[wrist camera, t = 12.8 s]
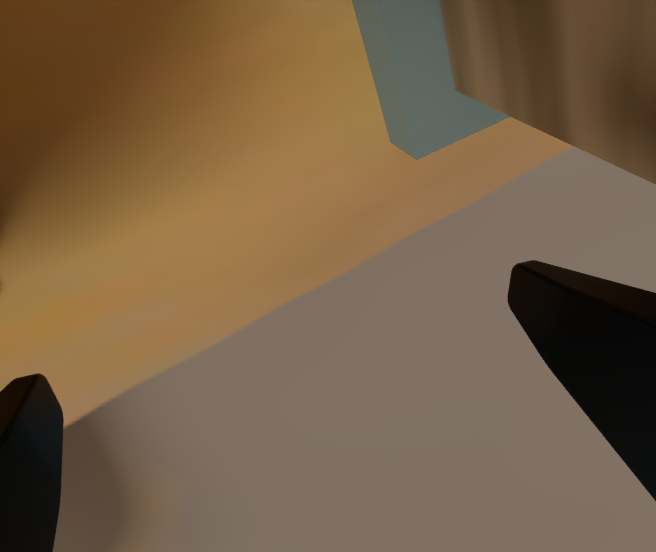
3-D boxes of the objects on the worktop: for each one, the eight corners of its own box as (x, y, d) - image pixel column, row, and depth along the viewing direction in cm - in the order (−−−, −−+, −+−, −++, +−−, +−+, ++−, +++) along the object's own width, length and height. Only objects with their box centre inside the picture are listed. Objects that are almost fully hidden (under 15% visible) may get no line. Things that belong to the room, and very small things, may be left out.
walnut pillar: (455, 90, 19) (820, 261, 9) (429, -56, 16) (943, -61, 6) (568, 36, 19) (1058, 140, 9) (564, -118, 16) (1303, -236, 6)
